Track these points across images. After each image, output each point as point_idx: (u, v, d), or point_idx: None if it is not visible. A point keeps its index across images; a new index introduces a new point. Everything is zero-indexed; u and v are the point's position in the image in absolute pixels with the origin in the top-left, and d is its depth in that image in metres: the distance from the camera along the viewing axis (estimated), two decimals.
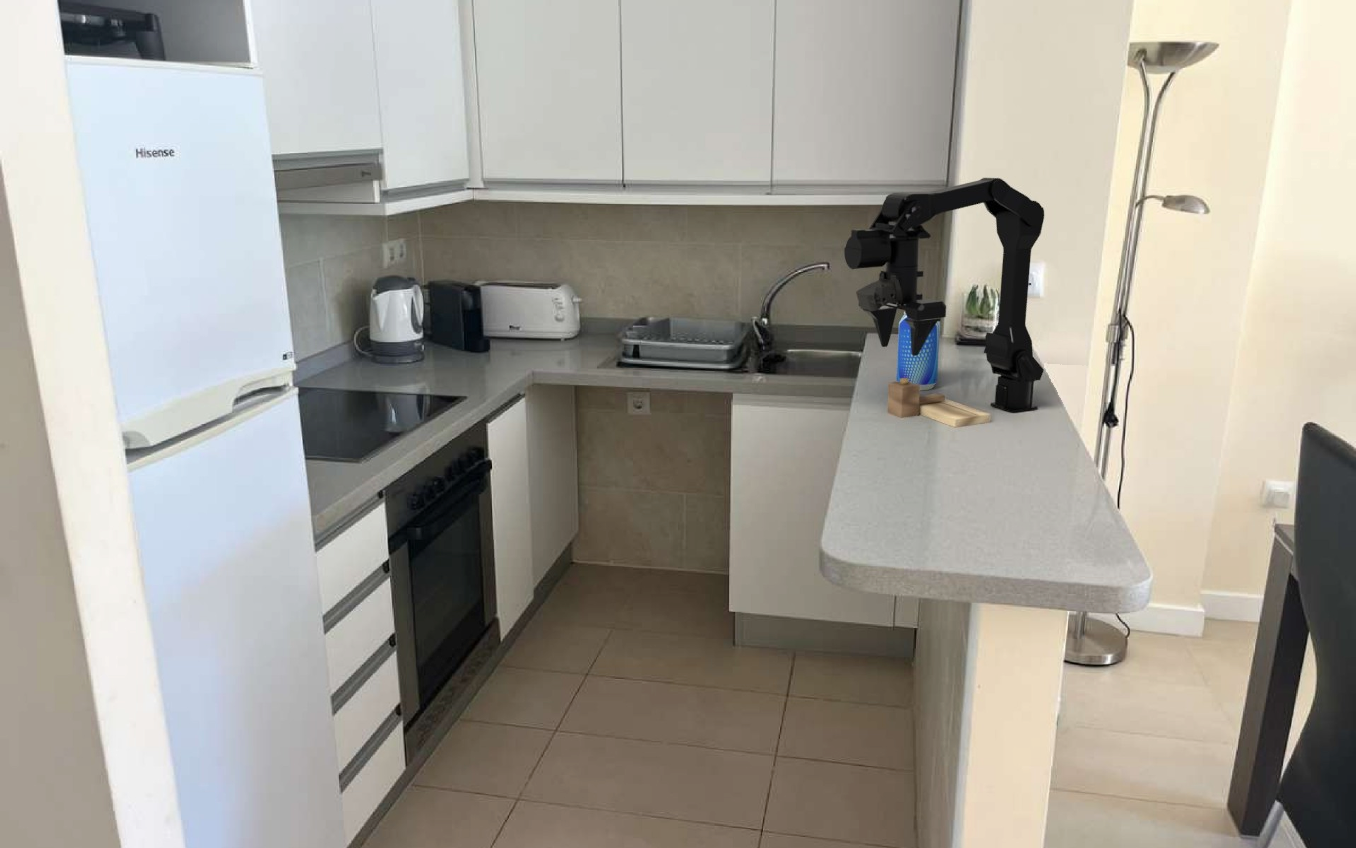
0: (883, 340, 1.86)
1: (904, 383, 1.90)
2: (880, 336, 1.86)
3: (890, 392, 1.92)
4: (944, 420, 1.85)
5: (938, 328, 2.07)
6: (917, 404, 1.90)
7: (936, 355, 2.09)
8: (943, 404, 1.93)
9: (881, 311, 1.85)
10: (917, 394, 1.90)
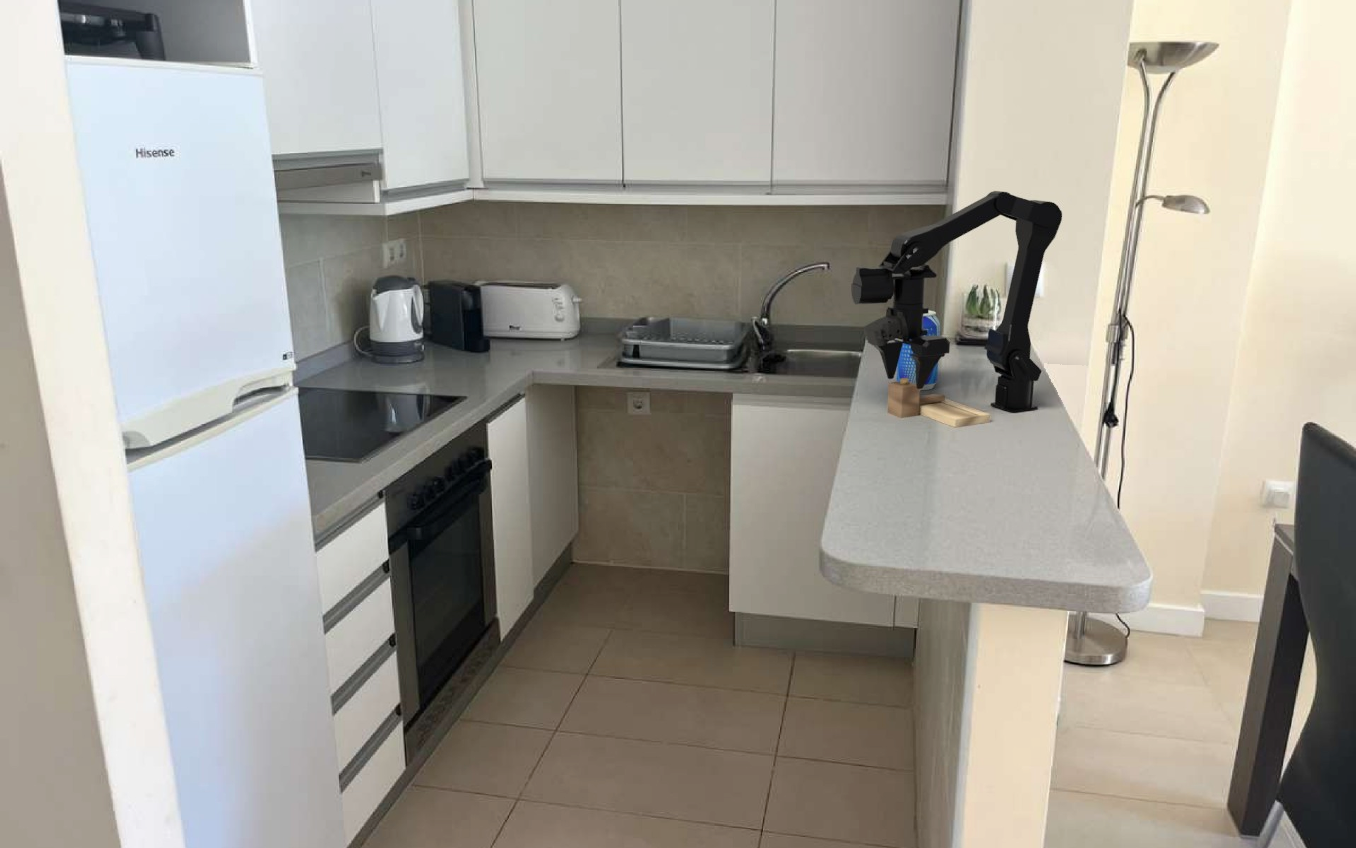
0: (889, 372, 1.94)
1: (904, 383, 1.90)
2: (886, 369, 1.94)
3: (890, 392, 1.92)
4: (944, 420, 1.85)
5: (938, 328, 2.07)
6: (917, 404, 1.90)
7: None
8: (943, 404, 1.93)
9: (888, 345, 1.93)
10: (917, 394, 1.90)
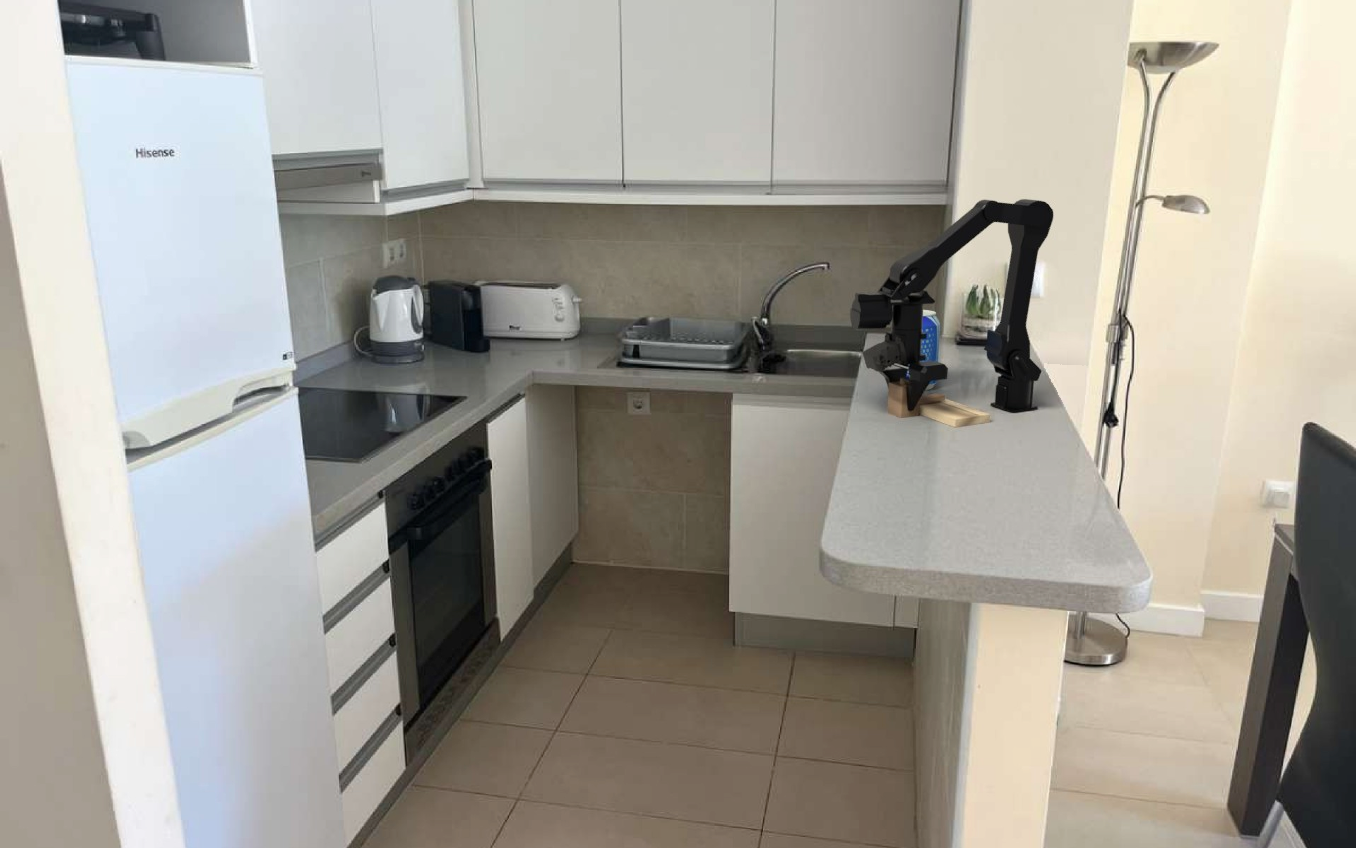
0: None
1: (904, 383, 1.90)
2: None
3: (890, 391, 1.92)
4: (944, 420, 1.85)
5: (938, 328, 2.07)
6: (917, 404, 1.90)
7: (936, 355, 2.09)
8: (943, 404, 1.93)
9: (893, 371, 1.92)
10: None
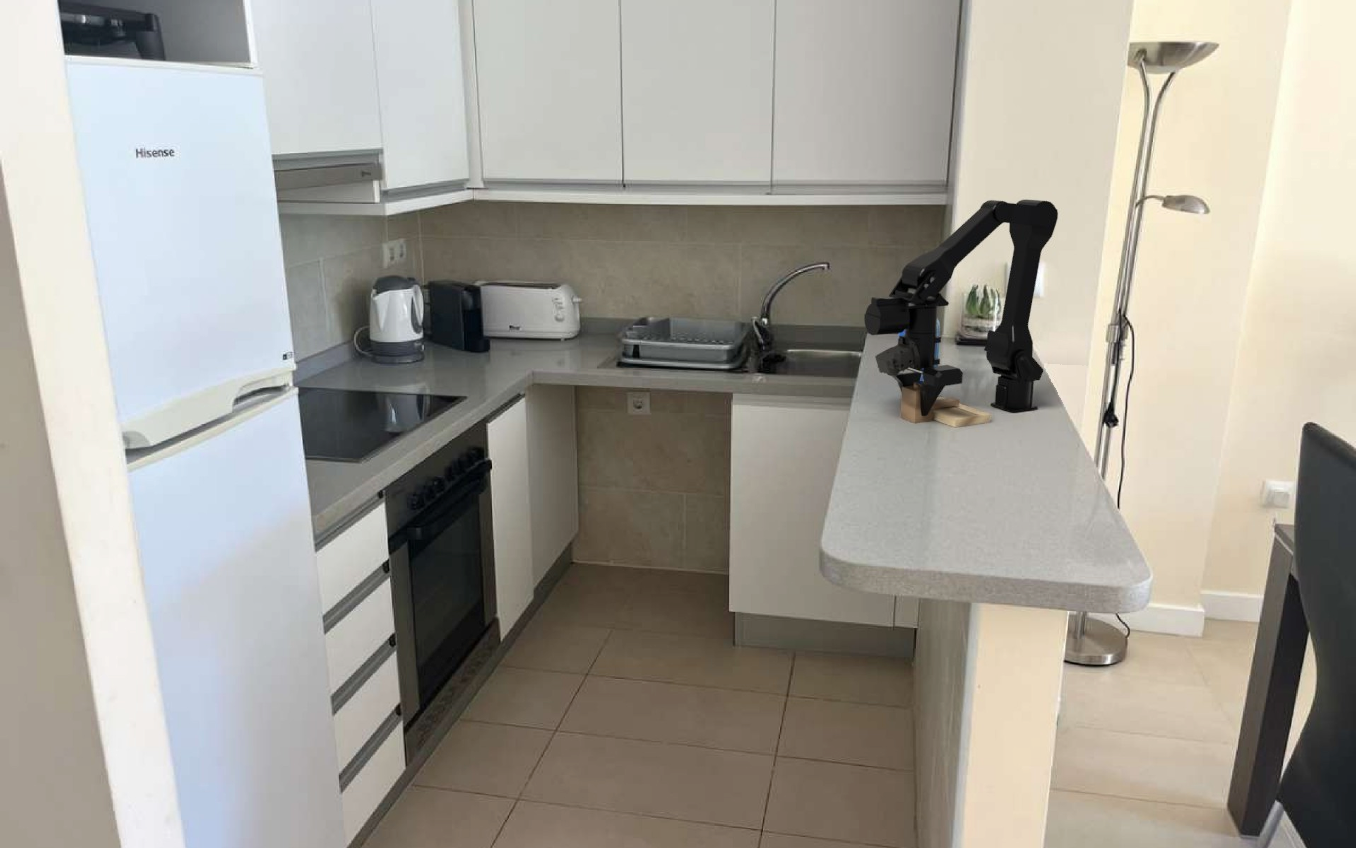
0: None
1: (918, 387, 1.86)
2: None
3: (904, 396, 1.88)
4: (944, 420, 1.85)
5: (938, 328, 2.07)
6: (931, 409, 1.87)
7: (936, 355, 2.09)
8: None
9: (906, 375, 1.89)
10: None
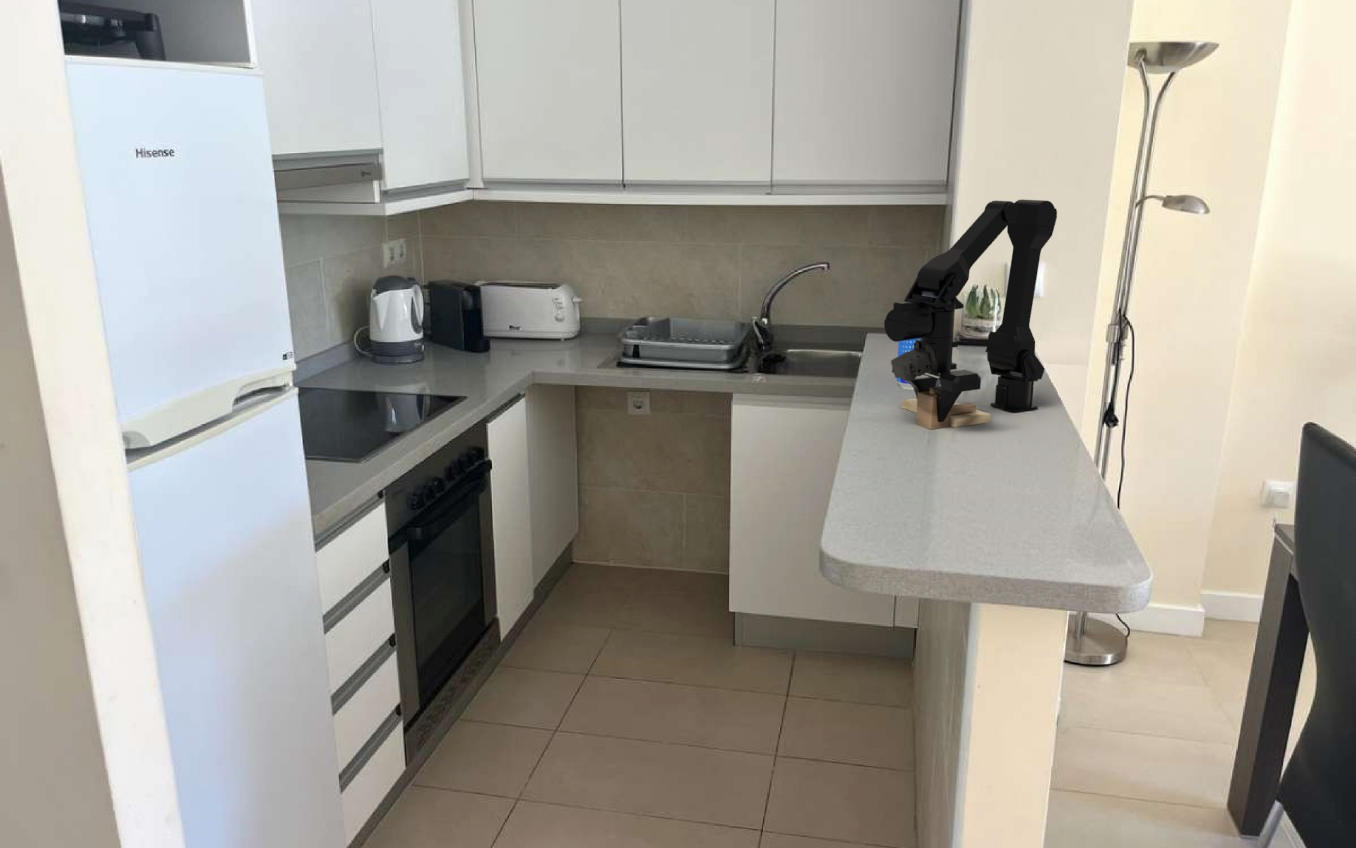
0: None
1: (934, 393, 1.82)
2: None
3: (919, 402, 1.84)
4: None
5: None
6: (947, 415, 1.82)
7: None
8: None
9: (922, 380, 1.84)
10: None
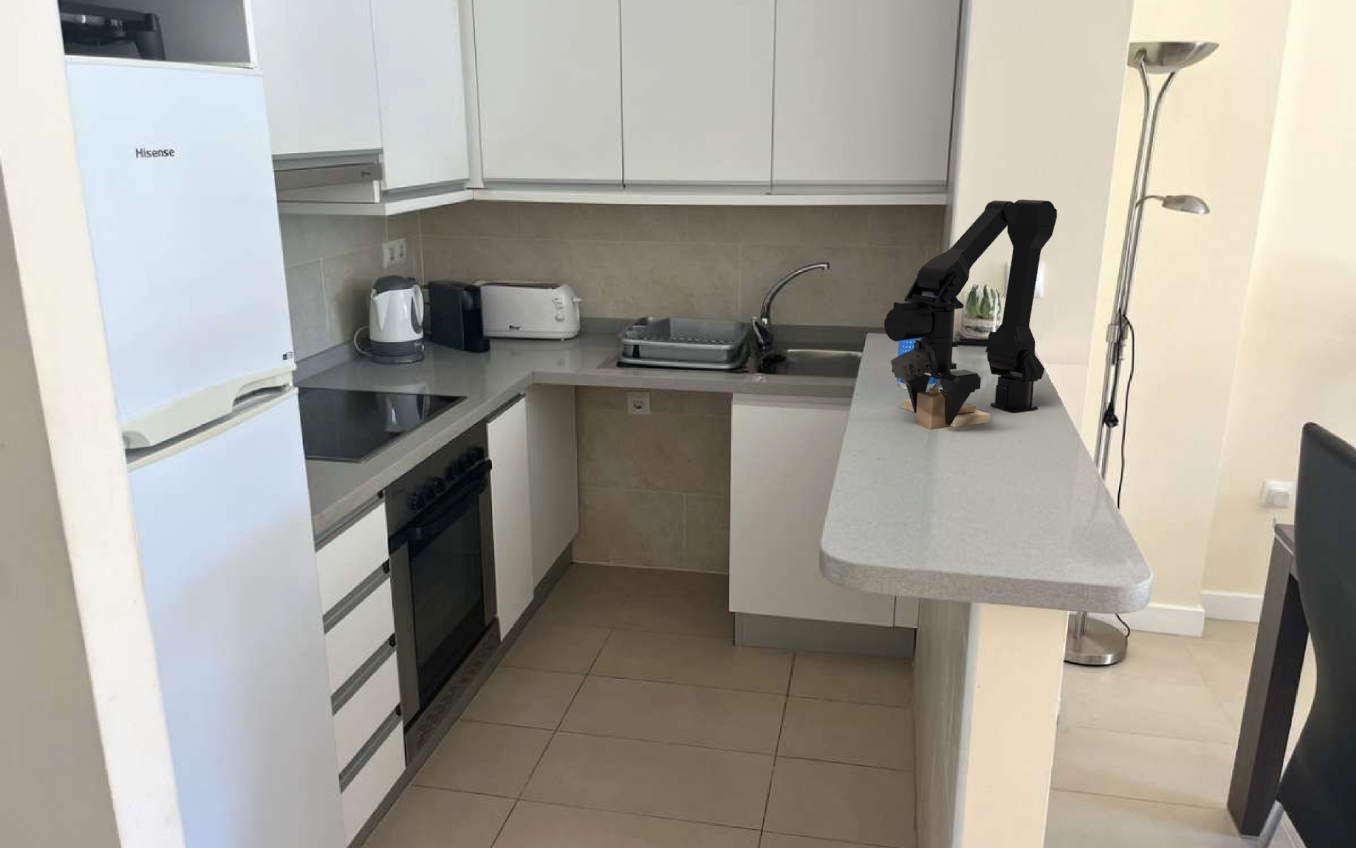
0: (916, 406, 1.87)
1: (934, 393, 1.82)
2: (913, 402, 1.87)
3: (919, 402, 1.84)
4: None
5: None
6: None
7: None
8: None
9: (914, 378, 1.86)
10: None
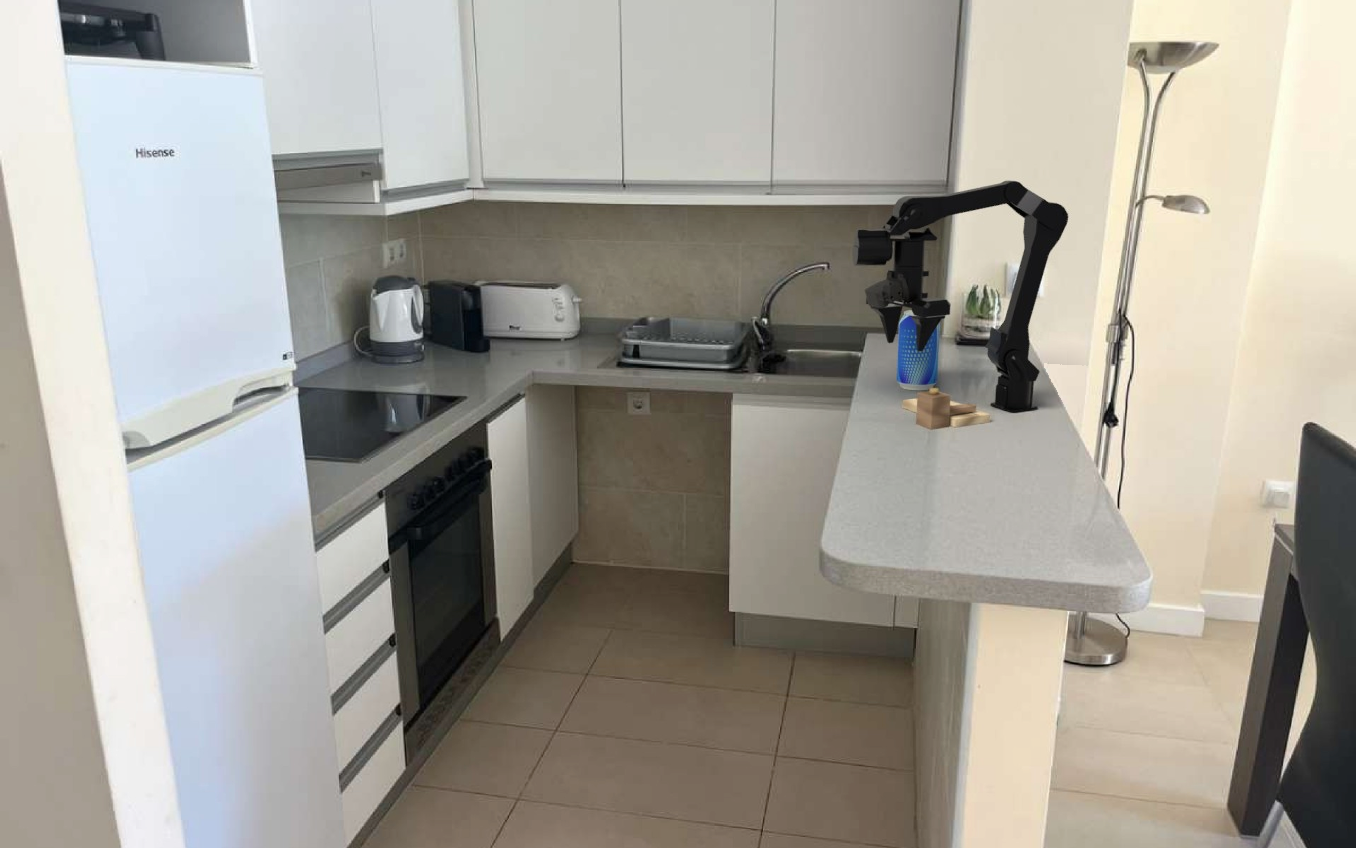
0: (889, 336, 1.95)
1: (934, 393, 1.82)
2: (886, 332, 1.95)
3: (919, 402, 1.84)
4: None
5: (938, 328, 2.07)
6: (947, 415, 1.82)
7: (936, 355, 2.09)
8: None
9: (888, 309, 1.94)
10: (947, 405, 1.82)
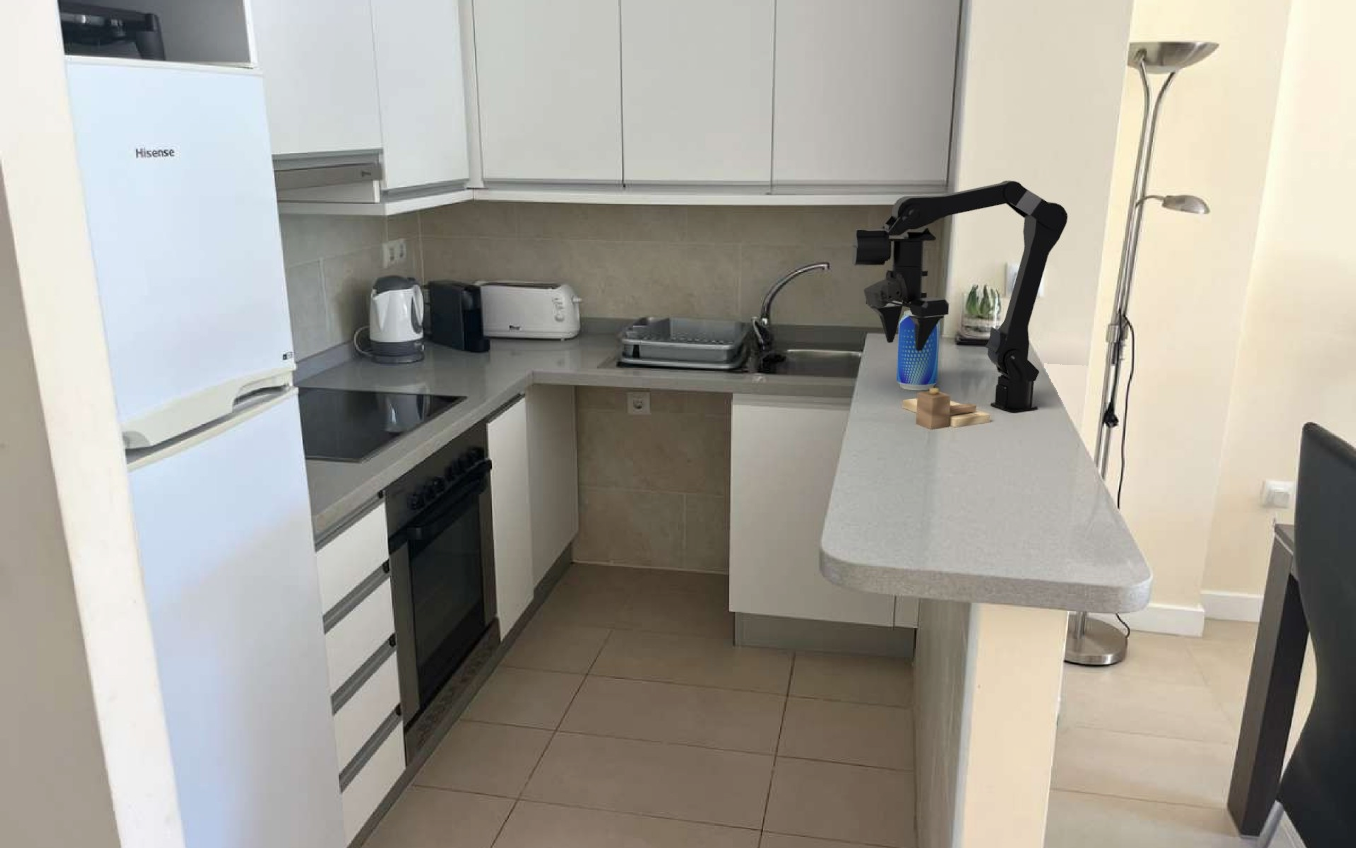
0: (889, 336, 1.96)
1: (934, 393, 1.82)
2: (886, 332, 1.95)
3: (919, 402, 1.84)
4: None
5: (938, 328, 2.07)
6: (947, 415, 1.82)
7: (936, 355, 2.09)
8: None
9: (887, 308, 1.95)
10: (948, 405, 1.82)
